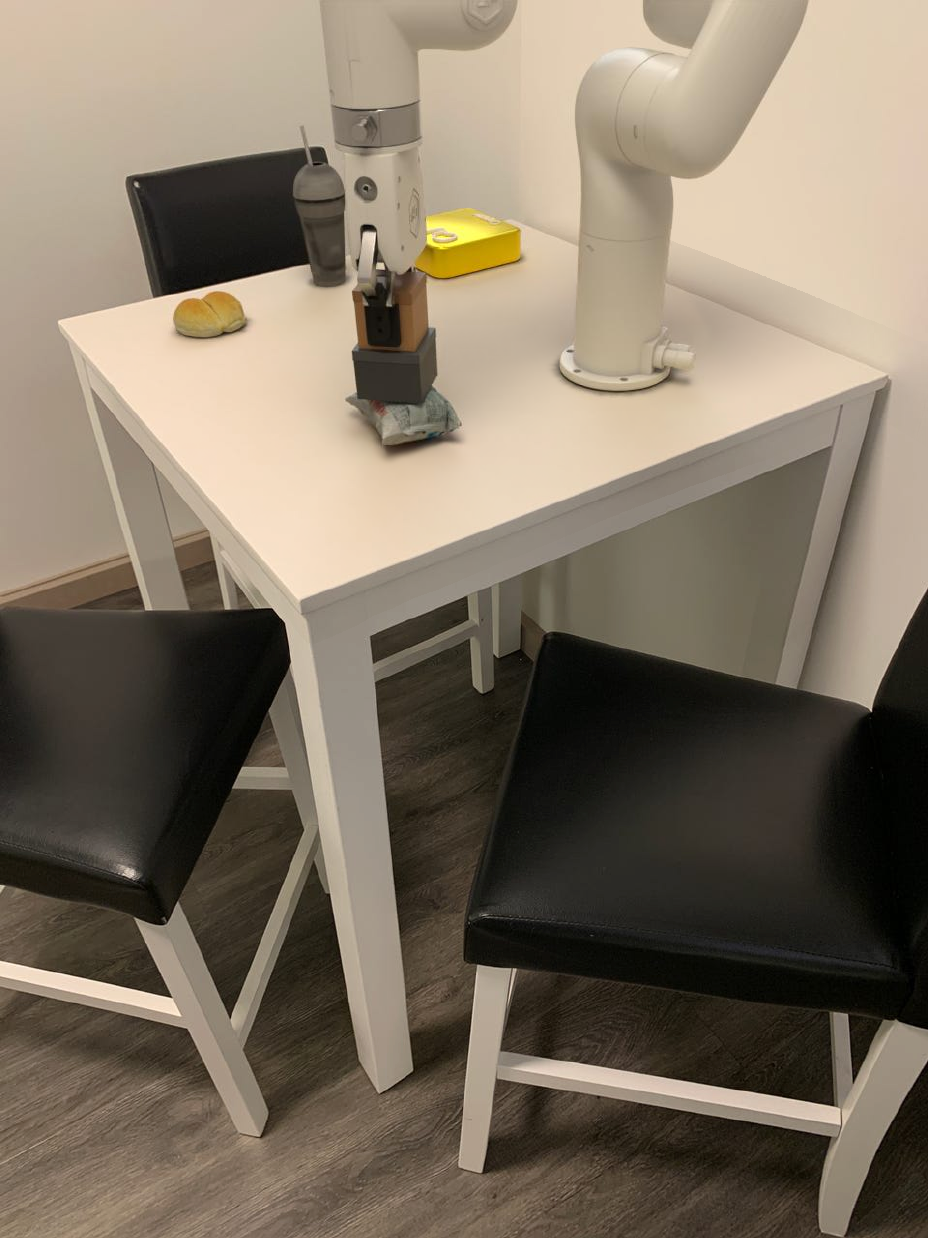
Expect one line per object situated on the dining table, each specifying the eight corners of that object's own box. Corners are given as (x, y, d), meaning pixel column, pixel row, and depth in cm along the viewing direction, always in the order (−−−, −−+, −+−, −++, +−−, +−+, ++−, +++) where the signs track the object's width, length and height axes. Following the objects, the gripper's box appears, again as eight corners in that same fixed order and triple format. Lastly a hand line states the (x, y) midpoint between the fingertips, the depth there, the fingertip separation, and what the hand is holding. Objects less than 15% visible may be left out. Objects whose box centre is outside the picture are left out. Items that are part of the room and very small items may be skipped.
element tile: (526, 259, 137) (526, 225, 134) (439, 281, 131) (438, 246, 128) (470, 234, 147) (469, 202, 144) (387, 253, 141) (385, 220, 138)
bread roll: (168, 324, 122) (161, 294, 119) (233, 309, 125) (228, 280, 123) (187, 345, 116) (180, 313, 114) (255, 329, 119) (249, 298, 117)
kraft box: (429, 329, 92) (426, 272, 89) (415, 352, 88) (411, 293, 84) (374, 326, 93) (369, 269, 90) (357, 349, 89) (351, 290, 86)
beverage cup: (352, 289, 130) (335, 130, 117) (300, 290, 130) (278, 132, 117) (357, 271, 135) (342, 118, 123) (308, 272, 136) (287, 120, 123)
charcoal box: (438, 374, 96) (435, 327, 93) (422, 403, 91) (419, 354, 88) (375, 370, 97) (371, 323, 94) (356, 399, 92) (351, 350, 89)
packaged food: (383, 464, 92) (380, 418, 88) (346, 414, 100) (341, 371, 97) (464, 445, 94) (463, 400, 91) (421, 399, 103) (419, 356, 100)
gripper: (393, 150, 72) (409, 372, 83) (443, 105, 85) (450, 301, 96) (301, 149, 73) (329, 367, 84) (364, 104, 86) (381, 298, 97)
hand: (393, 330), depth 90 cm, fingers closed on kraft box, 5 cm apart
